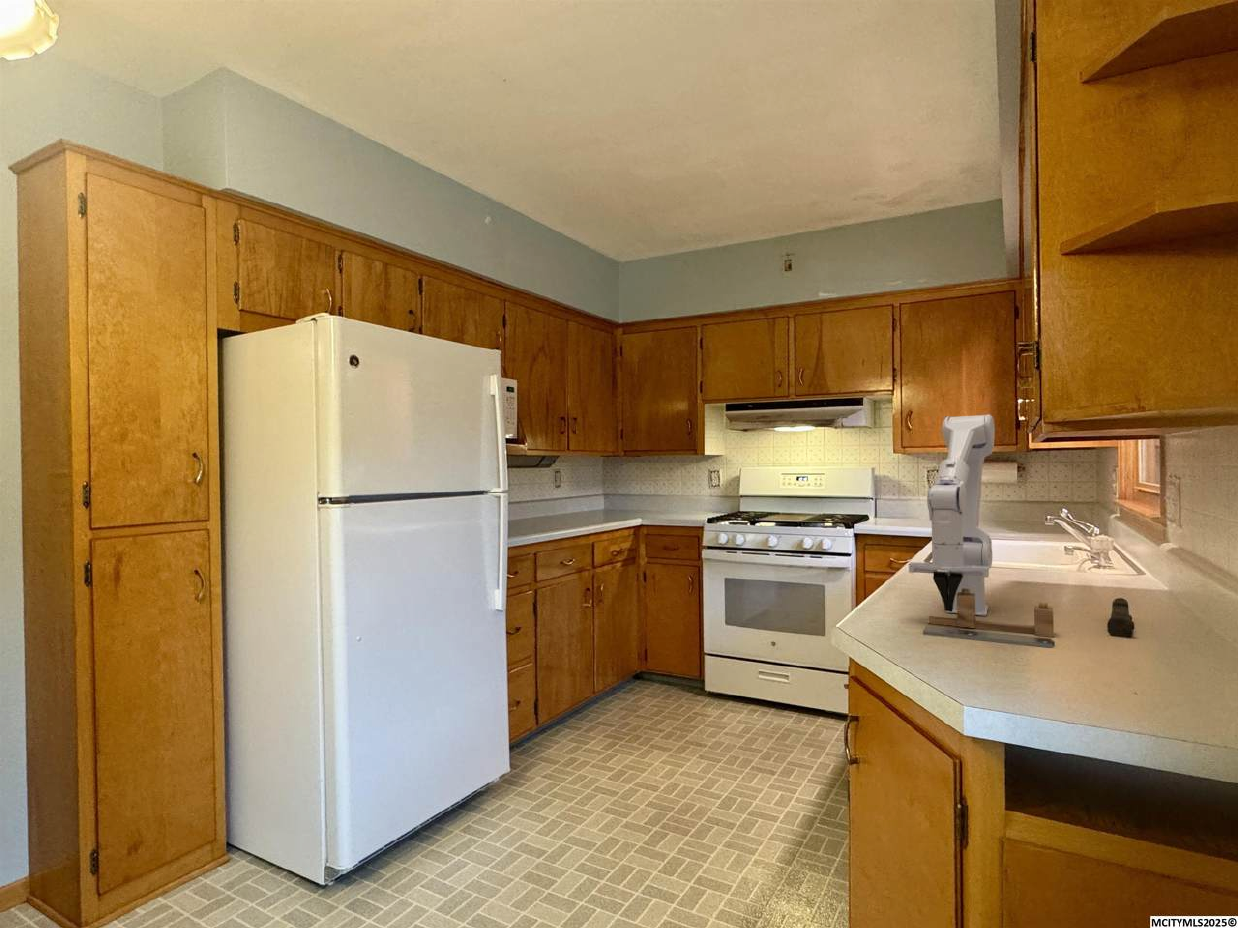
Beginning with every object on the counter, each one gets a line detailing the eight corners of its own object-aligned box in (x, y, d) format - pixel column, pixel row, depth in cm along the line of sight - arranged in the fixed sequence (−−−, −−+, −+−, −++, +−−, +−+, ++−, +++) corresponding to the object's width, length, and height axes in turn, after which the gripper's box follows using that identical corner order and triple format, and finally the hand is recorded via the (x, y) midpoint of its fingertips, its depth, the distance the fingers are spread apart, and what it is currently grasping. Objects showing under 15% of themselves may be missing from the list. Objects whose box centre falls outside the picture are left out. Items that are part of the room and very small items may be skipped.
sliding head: (958, 621, 136) (958, 586, 136) (975, 623, 134) (974, 588, 134) (957, 626, 132) (956, 590, 132) (974, 627, 131) (973, 591, 131)
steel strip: (925, 628, 132) (925, 625, 132) (1054, 642, 121) (1054, 638, 121) (923, 634, 128) (923, 630, 128) (1055, 648, 117) (1055, 644, 117)
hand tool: (1134, 640, 122) (1134, 615, 122) (1107, 636, 124) (1107, 612, 124) (1137, 620, 136) (1137, 598, 136) (1113, 617, 139) (1113, 595, 139)
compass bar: (930, 620, 138) (929, 592, 138) (1052, 632, 127) (1052, 601, 127) (928, 624, 135) (927, 595, 135) (1053, 637, 124) (1053, 605, 124)
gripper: (906, 544, 135) (907, 610, 135) (987, 547, 128) (988, 617, 128) (911, 540, 141) (912, 603, 141) (988, 543, 134) (990, 610, 134)
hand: (948, 610), depth 135 cm, fingers closed
